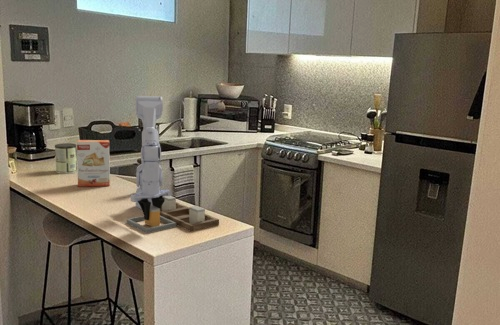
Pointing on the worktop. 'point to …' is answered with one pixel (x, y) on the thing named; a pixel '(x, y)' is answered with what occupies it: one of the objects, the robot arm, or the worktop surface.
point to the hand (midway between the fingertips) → (151, 218)
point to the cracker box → (93, 163)
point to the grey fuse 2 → (196, 214)
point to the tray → (148, 230)
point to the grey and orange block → (153, 217)
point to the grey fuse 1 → (169, 203)
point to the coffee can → (66, 158)
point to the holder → (187, 218)
